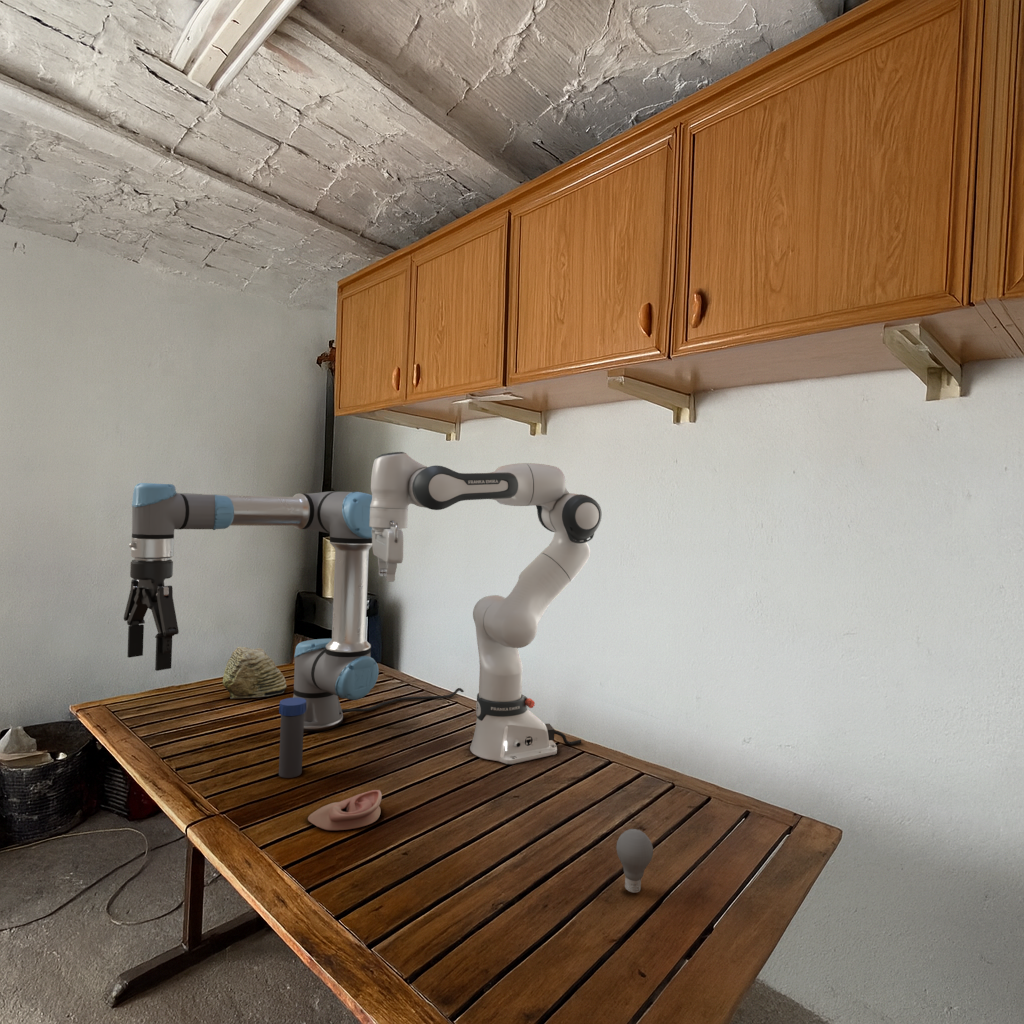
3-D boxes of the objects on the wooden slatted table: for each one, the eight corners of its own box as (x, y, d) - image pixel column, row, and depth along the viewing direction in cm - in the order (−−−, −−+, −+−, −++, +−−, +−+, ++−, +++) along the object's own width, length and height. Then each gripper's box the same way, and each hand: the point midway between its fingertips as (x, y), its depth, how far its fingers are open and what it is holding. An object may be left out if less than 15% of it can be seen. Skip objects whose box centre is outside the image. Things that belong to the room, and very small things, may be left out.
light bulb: (610, 879, 108) (613, 822, 108) (644, 879, 109) (647, 822, 109) (619, 902, 102) (622, 840, 102) (655, 901, 103) (658, 840, 103)
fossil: (218, 695, 195) (220, 647, 195) (278, 685, 208) (279, 640, 207) (228, 703, 189) (230, 653, 188) (289, 692, 201) (290, 645, 201)
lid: (308, 714, 143) (309, 703, 143) (281, 717, 140) (281, 706, 140) (303, 706, 148) (303, 696, 148) (276, 709, 145) (277, 699, 145)
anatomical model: (300, 805, 121) (329, 780, 132) (299, 826, 121) (328, 798, 133) (364, 815, 119) (388, 788, 130) (363, 836, 119) (387, 807, 130)
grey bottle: (303, 775, 143) (306, 705, 143) (280, 779, 141) (283, 708, 141) (299, 767, 148) (302, 698, 147) (276, 770, 145) (279, 701, 145)
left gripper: (108, 554, 134) (104, 654, 134) (159, 565, 118) (155, 678, 119) (146, 552, 140) (143, 648, 140) (199, 563, 124) (195, 671, 124)
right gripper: (411, 522, 141) (409, 584, 141) (393, 518, 160) (391, 573, 160) (383, 522, 139) (380, 585, 139) (368, 518, 158) (366, 573, 158)
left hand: (148, 662), depth 129 cm, fingers open, 13 cm apart
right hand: (386, 578), depth 150 cm, fingers open, 8 cm apart
